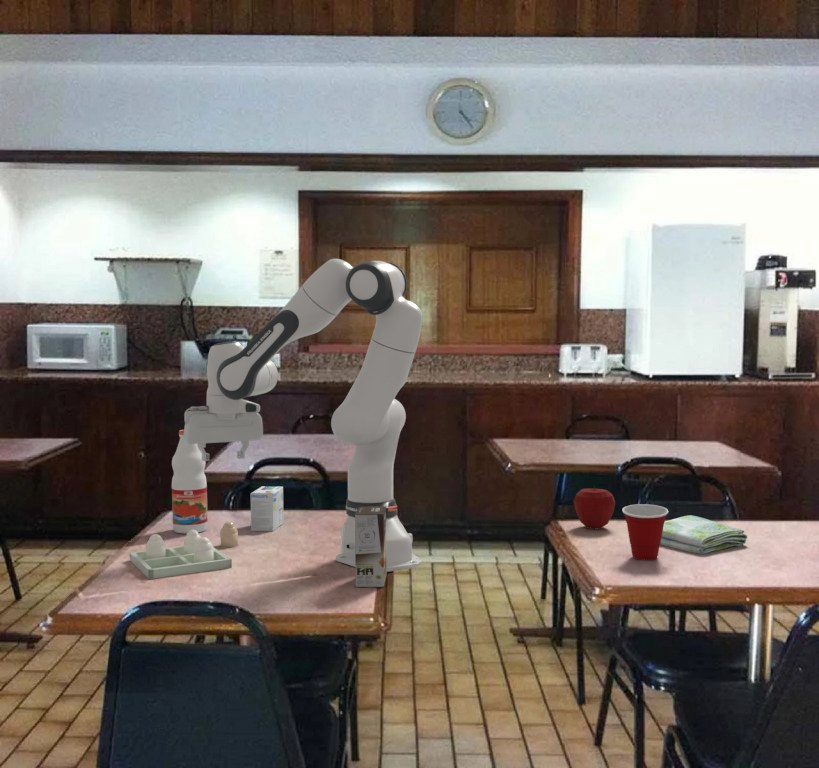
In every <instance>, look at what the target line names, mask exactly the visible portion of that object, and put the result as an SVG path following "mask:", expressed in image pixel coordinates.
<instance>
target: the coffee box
mask: <svg viewBox="0 0 819 768" xmlns="http://www.w3.org/2000/svg"><path fill="white" fill-rule="evenodd" d="M355 564H356V567H355V587H356V588H384V586H385V583H386V578H387V572H386V507H385V506H368V507H359V508H358V509H357V511H356V513H355Z"/></svg>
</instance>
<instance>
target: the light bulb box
mask: <svg viewBox="0 0 819 768" xmlns="http://www.w3.org/2000/svg"><path fill="white" fill-rule="evenodd" d="M249 498H250V531H251V532H274V531H275V530H276V529H278V528H279V527H280V526H282V525H283V524H284V486H280V485H279V486H268V485H267V486H263V485H262V486H260V487H259V488H257V489H255V490H254V491H252V492H250V497H249Z"/></svg>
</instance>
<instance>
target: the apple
mask: <svg viewBox="0 0 819 768" xmlns="http://www.w3.org/2000/svg"><path fill="white" fill-rule="evenodd" d="M595 487H596V486H595V485H594V486H593V488H582V489H580V490H579V491H578V492H577V493H576V494H575V496H574V499H573V505H574V509H575V512H576V515H577V517H578V519H579V521H580V523H581V525H583V526H585V527H586V528H587V529H590V530H600V529H602V528H603V527H606V525H608V524H609V523H610V520H611V518H612V517H613V515H614V514H613V513H614V512H615V505H616V501H615V497H614V495H613V494H612V492H610V491H609V490H607V489H602V488H595Z"/></svg>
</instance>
